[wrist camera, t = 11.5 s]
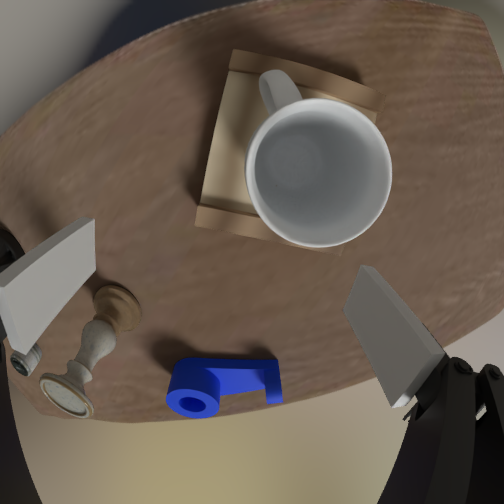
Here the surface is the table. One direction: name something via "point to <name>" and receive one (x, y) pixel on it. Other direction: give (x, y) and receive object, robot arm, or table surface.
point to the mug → (315, 166)
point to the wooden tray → (242, 128)
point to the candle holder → (92, 350)
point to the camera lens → (26, 360)
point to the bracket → (219, 383)
